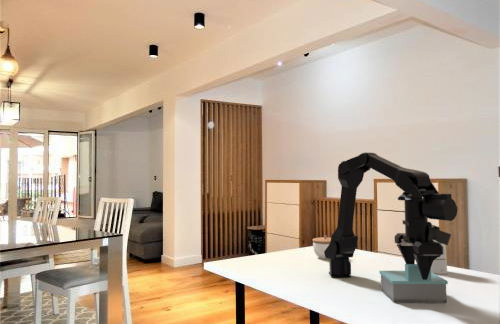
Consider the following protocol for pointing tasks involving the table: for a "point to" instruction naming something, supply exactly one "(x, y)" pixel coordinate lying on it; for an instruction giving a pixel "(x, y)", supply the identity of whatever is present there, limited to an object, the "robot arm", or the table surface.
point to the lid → (411, 276)
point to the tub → (414, 292)
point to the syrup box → (440, 262)
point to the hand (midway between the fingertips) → (417, 275)
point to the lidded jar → (321, 246)
